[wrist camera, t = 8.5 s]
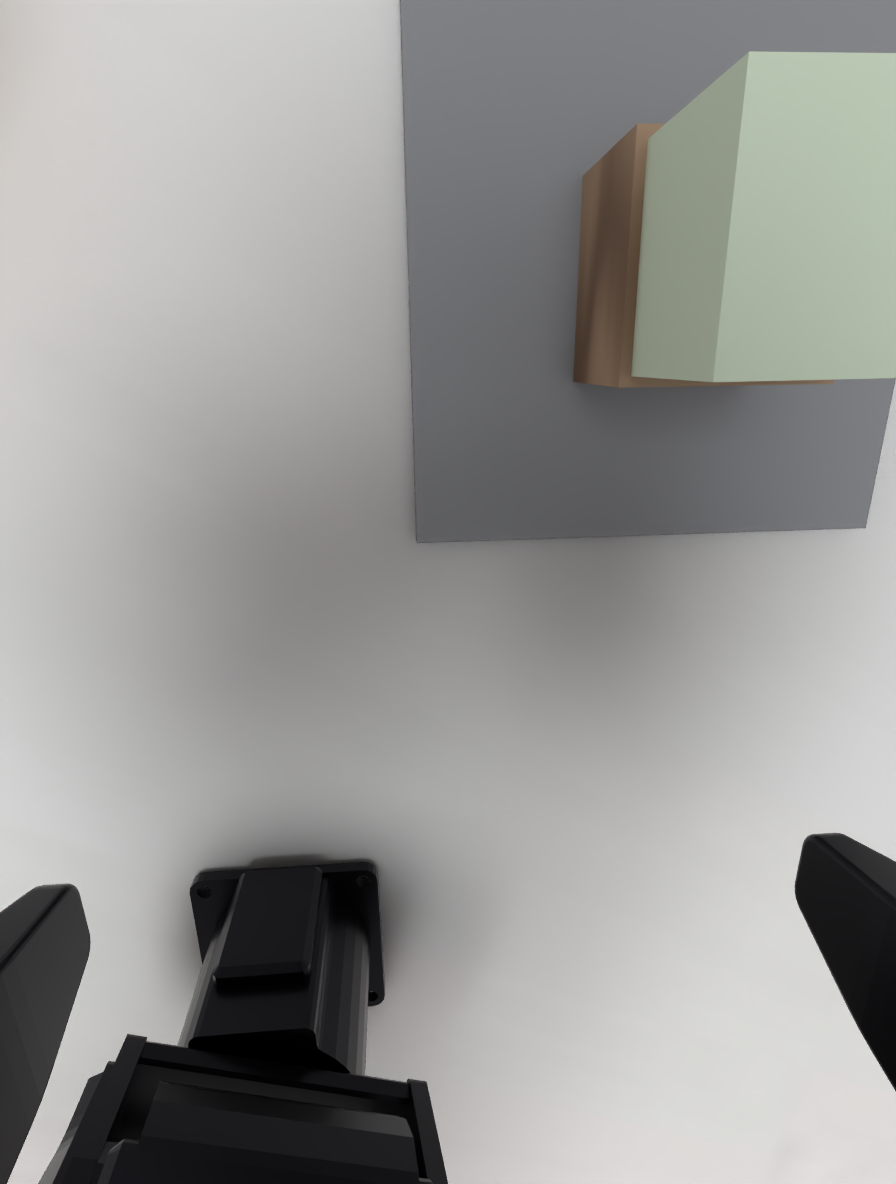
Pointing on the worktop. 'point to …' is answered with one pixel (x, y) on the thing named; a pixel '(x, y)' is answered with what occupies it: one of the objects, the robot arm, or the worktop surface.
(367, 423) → the worktop surface
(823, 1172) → the worktop surface
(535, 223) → the slate mat
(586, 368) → the walnut block
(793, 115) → the sage block
